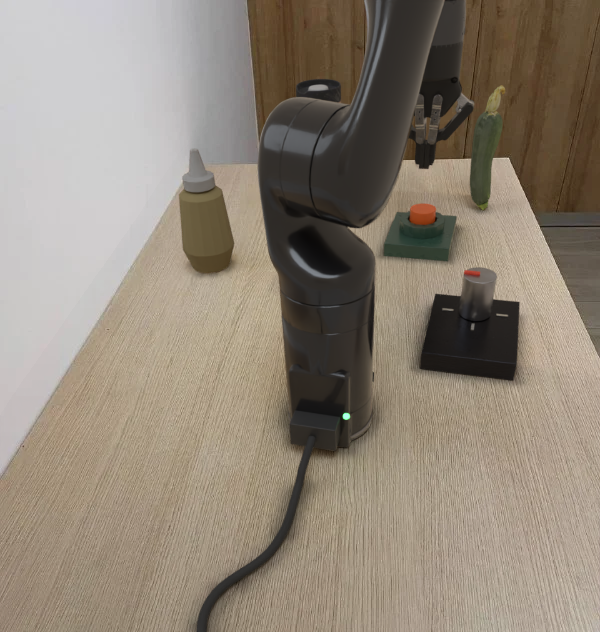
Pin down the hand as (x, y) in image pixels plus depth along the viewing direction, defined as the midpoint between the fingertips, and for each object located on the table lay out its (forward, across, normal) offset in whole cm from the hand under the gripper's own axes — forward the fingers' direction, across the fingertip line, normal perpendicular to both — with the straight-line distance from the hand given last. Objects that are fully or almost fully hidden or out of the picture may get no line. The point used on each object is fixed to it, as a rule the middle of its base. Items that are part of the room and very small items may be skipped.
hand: (424, 167), depth 96 cm
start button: (+9, 0, 0) cm, 9 cm away
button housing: (+12, 0, 0) cm, 12 cm away
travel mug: (+12, -20, +13) cm, 27 cm away
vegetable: (+12, +8, +15) cm, 21 cm away
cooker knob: (+10, +10, -24) cm, 28 cm away
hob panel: (+12, +10, -27) cm, 31 cm away
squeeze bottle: (+13, -31, -14) cm, 36 cm away
